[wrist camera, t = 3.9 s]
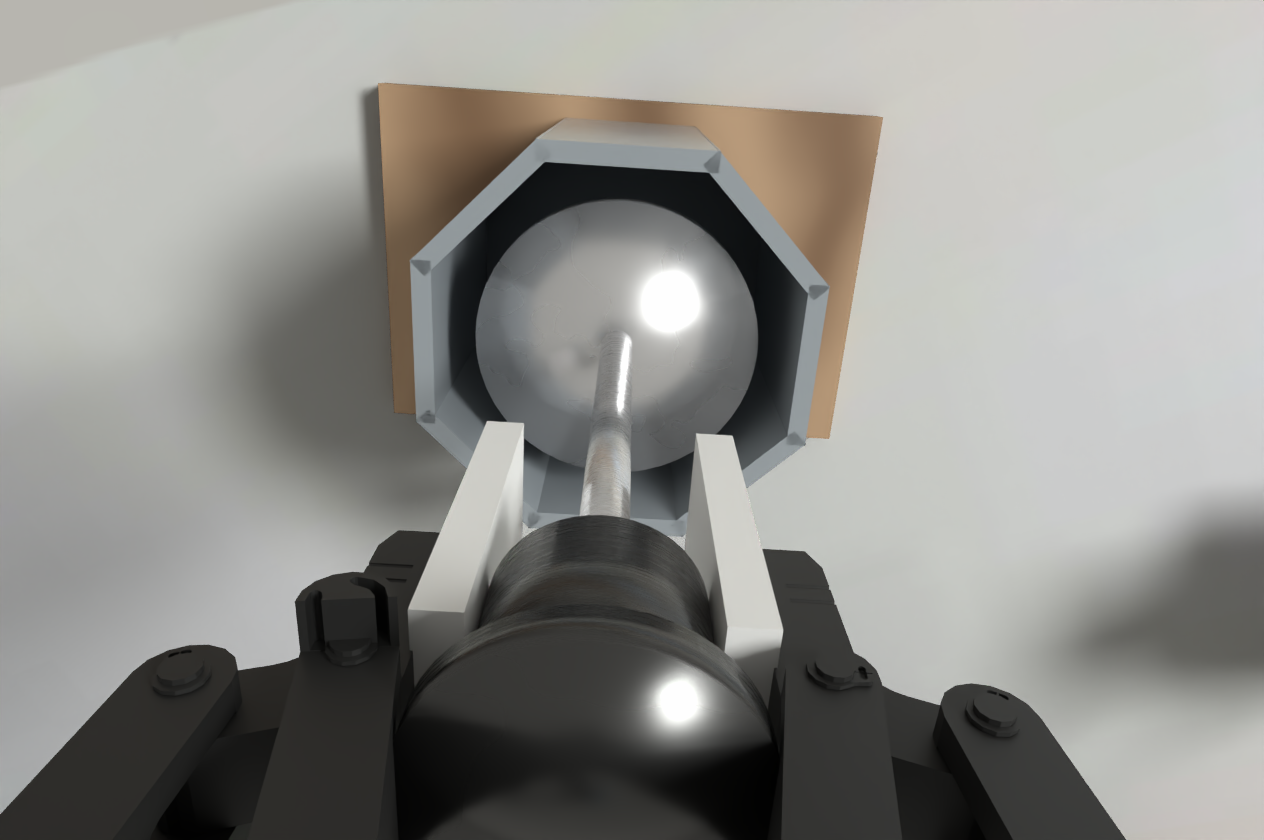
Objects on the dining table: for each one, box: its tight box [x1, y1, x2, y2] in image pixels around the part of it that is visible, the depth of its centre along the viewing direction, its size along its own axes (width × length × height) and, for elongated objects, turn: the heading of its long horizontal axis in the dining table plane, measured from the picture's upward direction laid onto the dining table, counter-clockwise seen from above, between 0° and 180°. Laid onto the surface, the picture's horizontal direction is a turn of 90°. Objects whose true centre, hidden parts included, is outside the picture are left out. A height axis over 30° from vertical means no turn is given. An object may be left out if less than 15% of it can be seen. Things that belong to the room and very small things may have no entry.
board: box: [378, 83, 883, 439], centre depth 36 cm, size 20×14×1 cm
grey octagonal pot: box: [410, 118, 830, 537], centre depth 32 cm, size 12×15×11 cm
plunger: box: [393, 198, 780, 840], centre depth 19 cm, size 9×9×19 cm
